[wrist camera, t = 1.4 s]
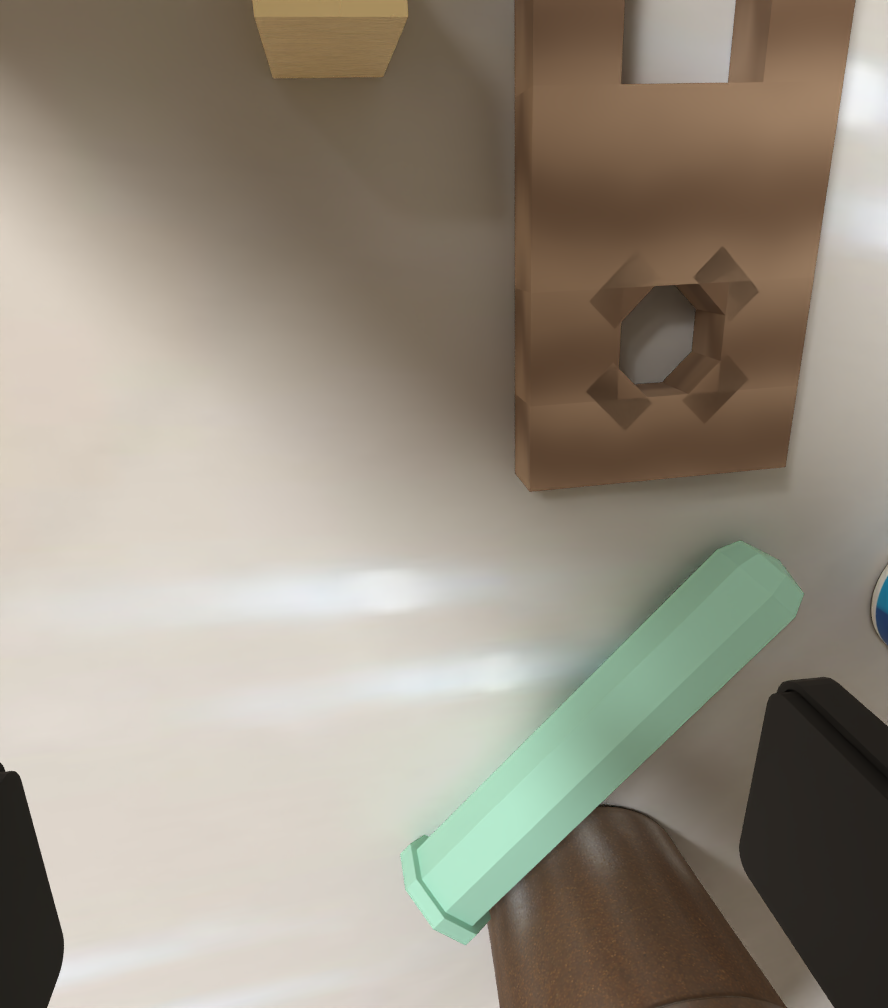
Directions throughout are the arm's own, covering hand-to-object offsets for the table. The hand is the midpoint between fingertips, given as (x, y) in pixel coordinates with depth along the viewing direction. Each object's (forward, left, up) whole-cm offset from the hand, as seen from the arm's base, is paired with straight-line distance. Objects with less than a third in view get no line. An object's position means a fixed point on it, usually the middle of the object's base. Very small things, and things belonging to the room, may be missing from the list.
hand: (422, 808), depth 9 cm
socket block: (-8, +13, -23) cm, 28 cm away
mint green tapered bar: (+18, +11, -24) cm, 32 cm away
